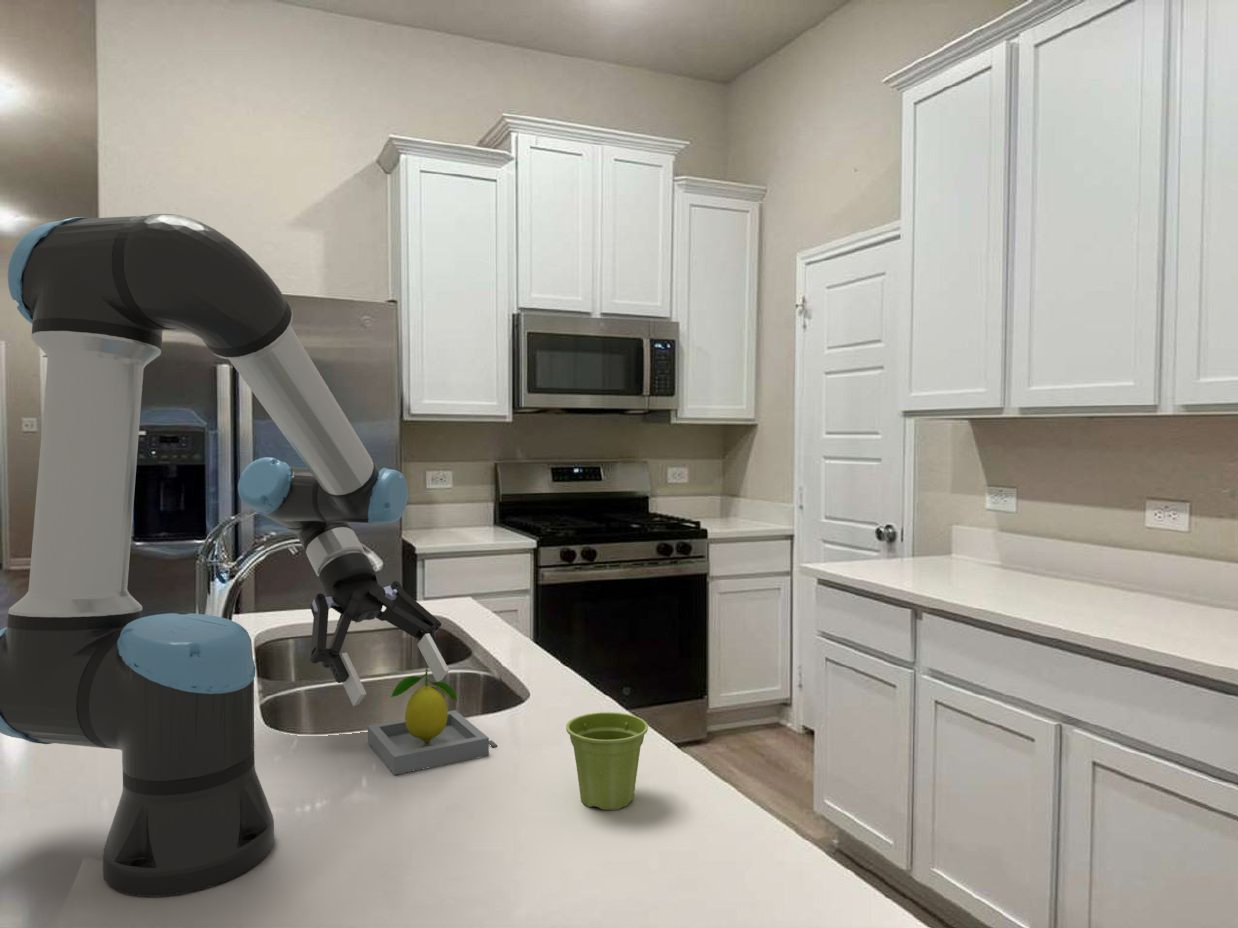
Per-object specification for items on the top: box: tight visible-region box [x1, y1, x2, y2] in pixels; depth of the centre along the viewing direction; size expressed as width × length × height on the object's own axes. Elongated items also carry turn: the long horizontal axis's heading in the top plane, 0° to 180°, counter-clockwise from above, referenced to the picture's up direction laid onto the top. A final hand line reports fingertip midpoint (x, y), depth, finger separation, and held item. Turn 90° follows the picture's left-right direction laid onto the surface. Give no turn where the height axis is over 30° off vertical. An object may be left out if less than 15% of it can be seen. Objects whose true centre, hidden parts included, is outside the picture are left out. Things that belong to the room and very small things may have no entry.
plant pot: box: [565, 711, 649, 811], centre depth 96 cm, size 9×9×9 cm
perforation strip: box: [482, 732, 498, 748], centre depth 116 cm, size 9×1×1 cm, turn 31°
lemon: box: [390, 668, 458, 743], centre depth 111 cm, size 7×6×10 cm
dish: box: [367, 709, 490, 776], centre depth 111 cm, size 12×12×2 cm
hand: (403, 687), depth 115 cm, fingers open, 13 cm apart
